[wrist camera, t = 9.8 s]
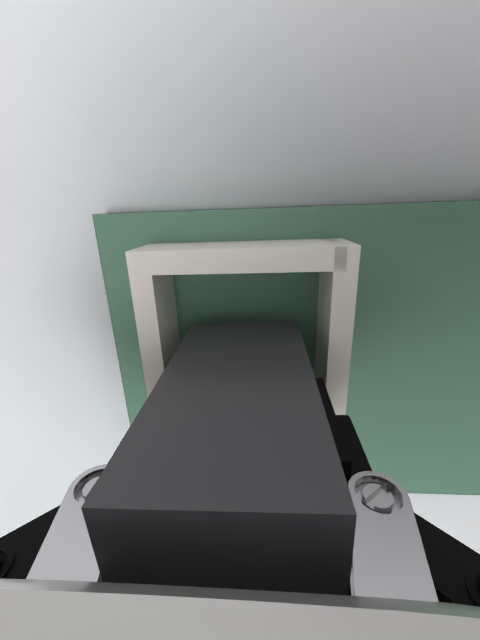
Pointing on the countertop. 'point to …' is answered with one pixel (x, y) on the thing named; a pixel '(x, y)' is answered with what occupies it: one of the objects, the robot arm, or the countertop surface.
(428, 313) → the header board
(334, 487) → the dark gray block
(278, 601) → the robot arm
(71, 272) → the countertop surface
